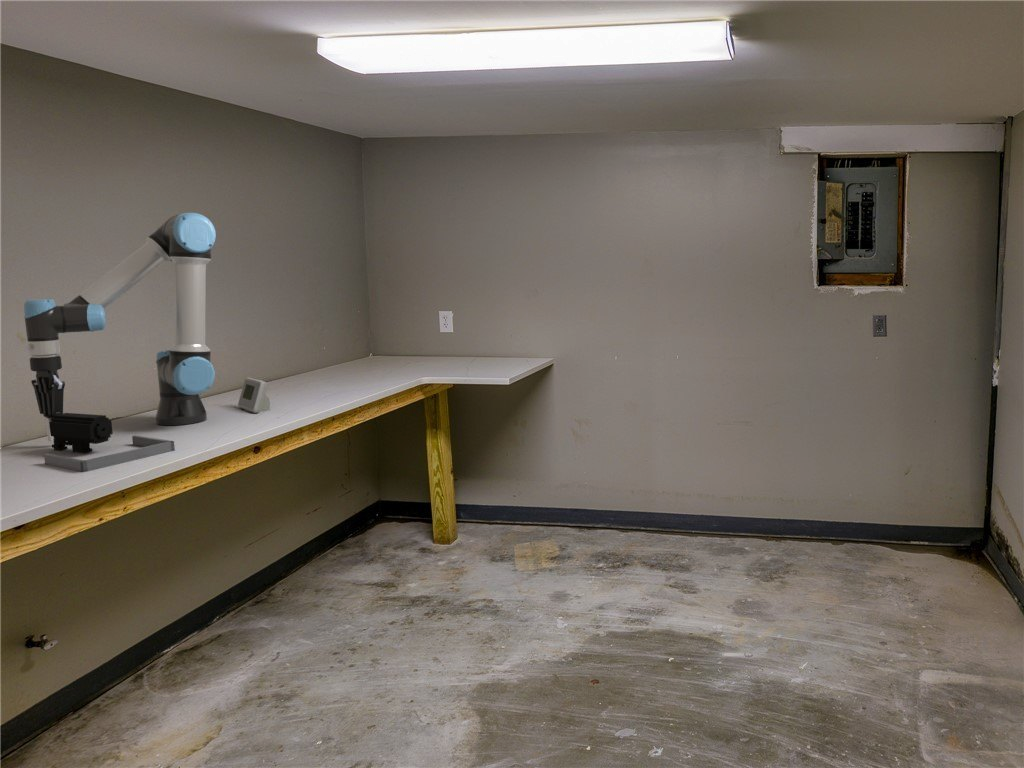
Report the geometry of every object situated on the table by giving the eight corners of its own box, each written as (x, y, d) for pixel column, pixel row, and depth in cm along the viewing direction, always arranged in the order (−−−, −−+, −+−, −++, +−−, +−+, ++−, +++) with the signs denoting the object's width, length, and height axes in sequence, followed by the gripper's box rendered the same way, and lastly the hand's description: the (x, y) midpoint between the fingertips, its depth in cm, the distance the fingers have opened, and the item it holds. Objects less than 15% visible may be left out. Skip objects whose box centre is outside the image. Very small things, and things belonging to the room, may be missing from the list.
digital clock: (237, 408, 280) (235, 377, 279) (264, 405, 284) (262, 375, 283) (244, 415, 266) (242, 383, 264) (272, 412, 270) (270, 381, 268)
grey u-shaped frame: (136, 443, 226) (135, 435, 225) (174, 450, 217) (174, 441, 216) (45, 463, 205) (43, 454, 204) (83, 471, 196) (82, 461, 195)
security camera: (66, 446, 225) (62, 411, 223) (116, 450, 218) (112, 414, 216) (44, 452, 218) (40, 415, 217) (95, 456, 212) (91, 419, 210)
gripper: (18, 356, 222) (28, 440, 225) (43, 358, 215) (53, 444, 218) (46, 353, 228) (55, 434, 231) (71, 355, 221) (80, 439, 224)
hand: (54, 439), depth 225 cm, fingers closed
